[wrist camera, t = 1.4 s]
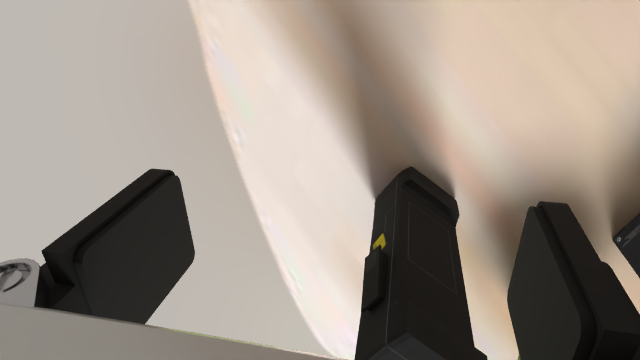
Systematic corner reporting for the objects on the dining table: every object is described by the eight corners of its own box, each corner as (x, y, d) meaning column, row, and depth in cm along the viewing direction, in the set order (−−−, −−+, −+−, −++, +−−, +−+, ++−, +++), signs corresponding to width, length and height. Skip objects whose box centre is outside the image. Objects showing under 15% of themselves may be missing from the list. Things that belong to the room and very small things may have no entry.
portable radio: (364, 196, 45) (318, 410, 23) (400, 157, 42) (386, 359, 20) (420, 237, 46) (426, 479, 24) (459, 201, 43) (506, 440, 21)
